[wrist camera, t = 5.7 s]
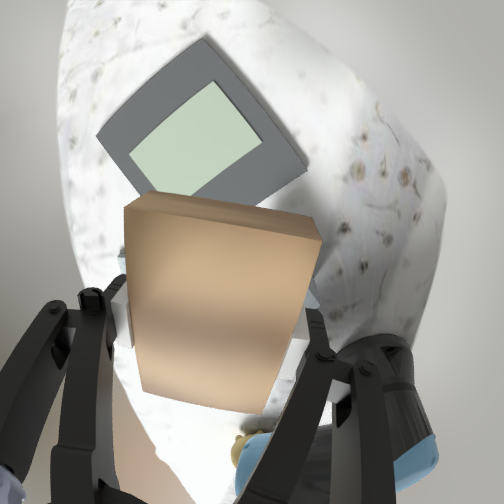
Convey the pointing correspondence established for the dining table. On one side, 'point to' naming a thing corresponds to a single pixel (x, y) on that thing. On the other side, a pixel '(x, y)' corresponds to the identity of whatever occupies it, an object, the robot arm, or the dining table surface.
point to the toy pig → (240, 446)
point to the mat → (200, 135)
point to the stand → (312, 296)
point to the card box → (214, 295)
